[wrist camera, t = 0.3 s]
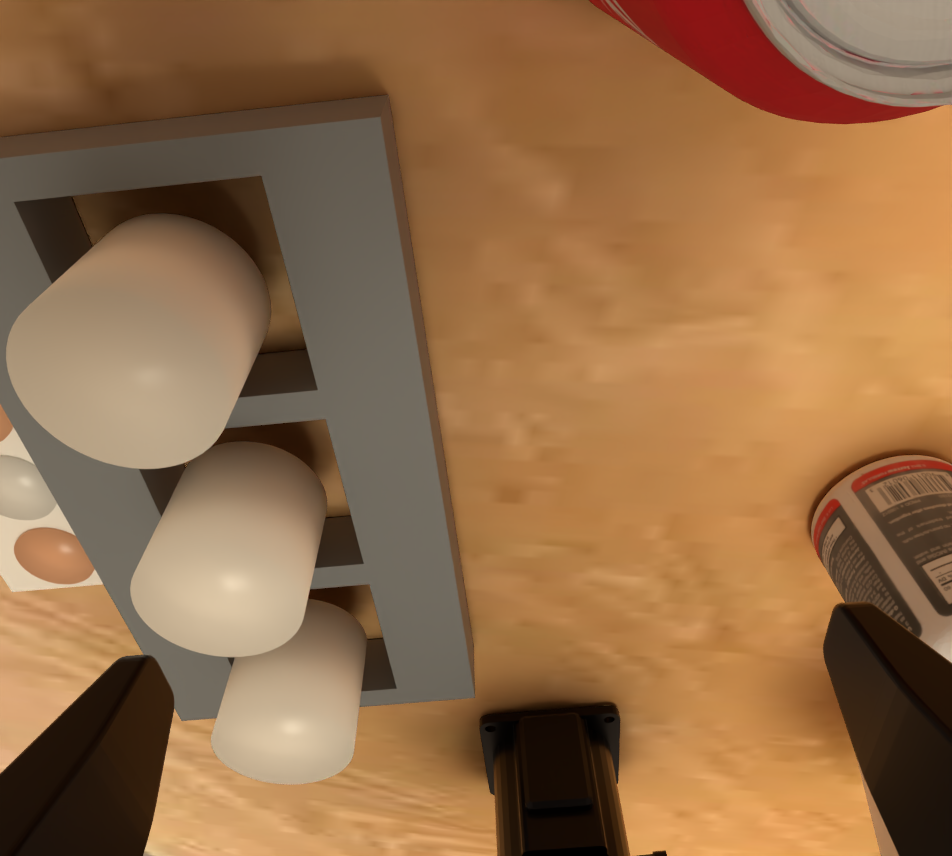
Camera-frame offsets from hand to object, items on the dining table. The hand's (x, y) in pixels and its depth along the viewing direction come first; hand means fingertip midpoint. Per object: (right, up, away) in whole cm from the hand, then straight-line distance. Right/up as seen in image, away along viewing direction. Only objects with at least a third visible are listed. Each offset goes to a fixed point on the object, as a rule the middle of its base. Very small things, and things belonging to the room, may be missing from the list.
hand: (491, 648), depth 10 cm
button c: (-8, +6, +10) cm, 14 cm away
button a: (-7, -5, +18) cm, 19 cm away
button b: (-7, +1, +14) cm, 15 cm away
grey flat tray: (-7, +2, +15) cm, 17 cm away
